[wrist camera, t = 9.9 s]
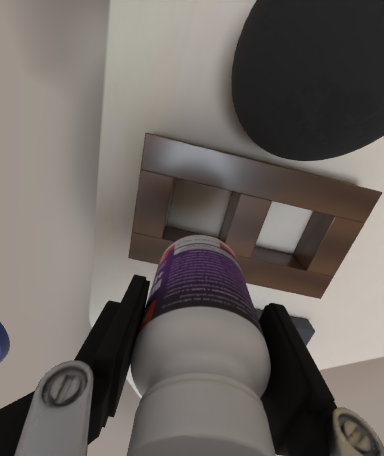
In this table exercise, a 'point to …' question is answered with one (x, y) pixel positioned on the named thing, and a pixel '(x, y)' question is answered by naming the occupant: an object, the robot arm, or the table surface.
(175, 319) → the pill bottle
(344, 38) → the decorative egg
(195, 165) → the dock
